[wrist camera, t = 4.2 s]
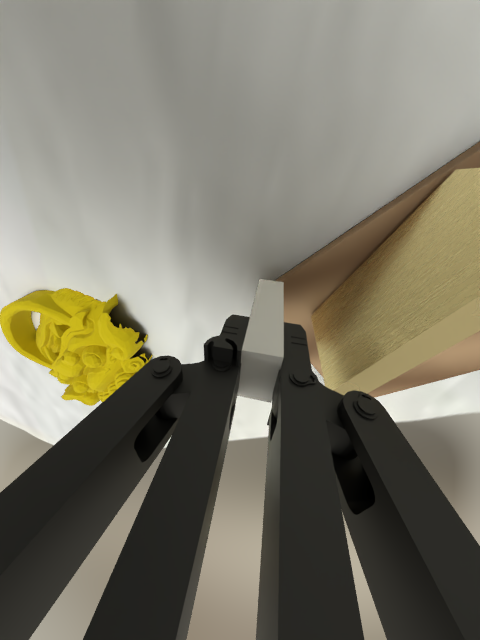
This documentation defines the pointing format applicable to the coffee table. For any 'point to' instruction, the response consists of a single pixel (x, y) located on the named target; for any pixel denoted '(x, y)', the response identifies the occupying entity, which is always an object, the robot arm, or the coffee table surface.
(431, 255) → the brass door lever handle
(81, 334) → the door knocker
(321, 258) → the walnut board
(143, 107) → the coffee table surface
